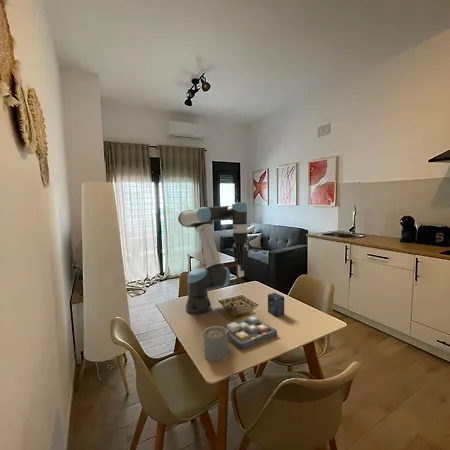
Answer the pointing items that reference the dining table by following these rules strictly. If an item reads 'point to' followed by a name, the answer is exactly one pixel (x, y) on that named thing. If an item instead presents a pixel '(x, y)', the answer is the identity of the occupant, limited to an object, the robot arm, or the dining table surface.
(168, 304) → the dining table surface
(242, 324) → the key sage
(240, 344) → the keypad board
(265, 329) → the key terracotta
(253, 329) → the key charcoal
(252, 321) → the key slate
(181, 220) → the robot arm
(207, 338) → the coffee mug
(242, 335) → the key ochre
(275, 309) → the box
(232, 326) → the key cream
